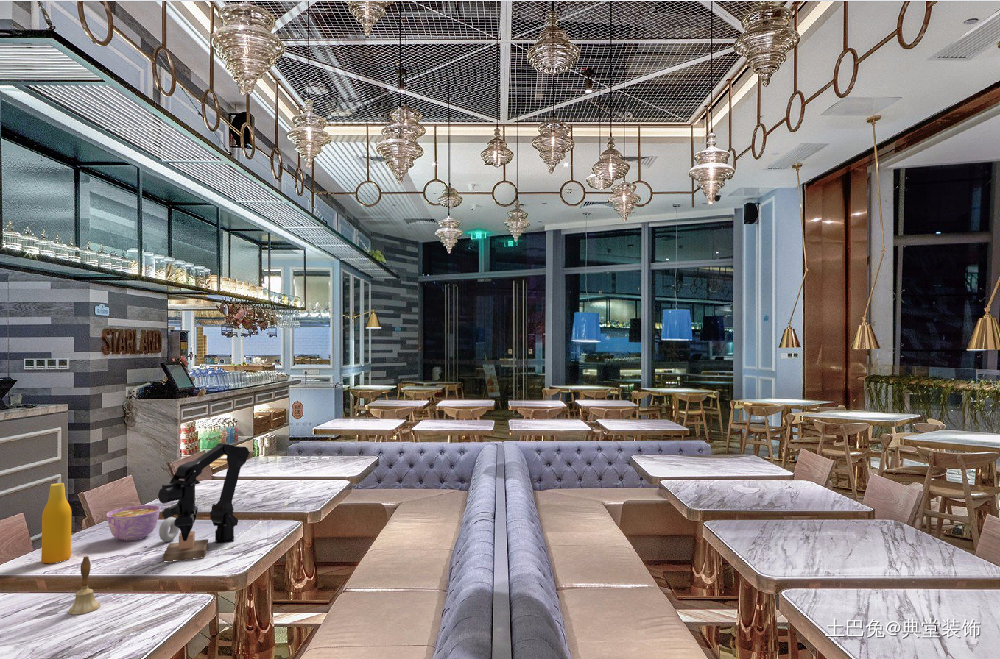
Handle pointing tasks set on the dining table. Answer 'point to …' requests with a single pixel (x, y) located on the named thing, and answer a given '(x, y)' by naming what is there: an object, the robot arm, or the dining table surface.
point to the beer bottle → (56, 526)
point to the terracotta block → (189, 542)
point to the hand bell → (84, 593)
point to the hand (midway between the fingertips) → (186, 537)
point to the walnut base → (185, 551)
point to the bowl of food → (133, 521)
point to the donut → (165, 527)
